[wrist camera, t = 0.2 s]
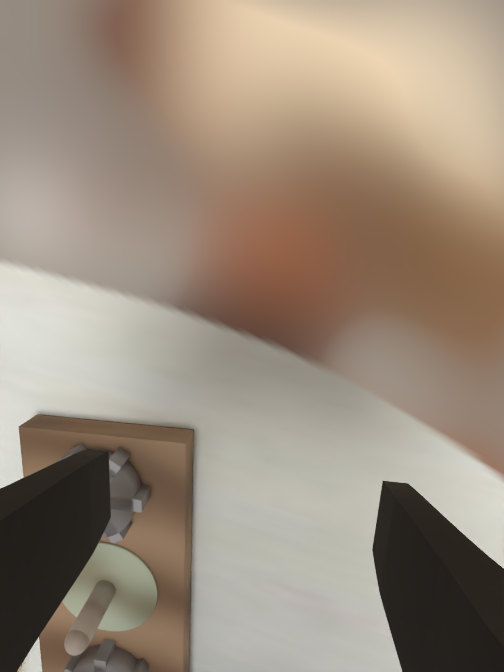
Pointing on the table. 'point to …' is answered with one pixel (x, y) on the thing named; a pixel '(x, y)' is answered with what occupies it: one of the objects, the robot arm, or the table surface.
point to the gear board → (124, 549)
